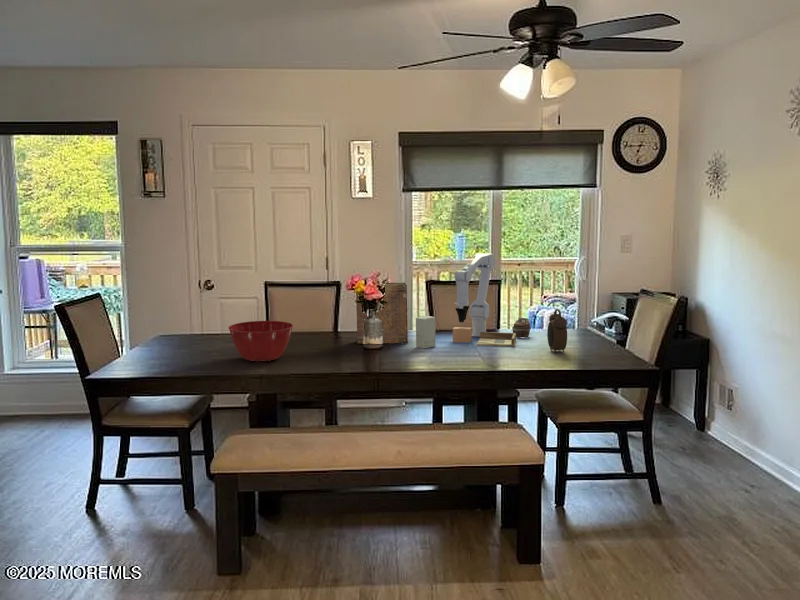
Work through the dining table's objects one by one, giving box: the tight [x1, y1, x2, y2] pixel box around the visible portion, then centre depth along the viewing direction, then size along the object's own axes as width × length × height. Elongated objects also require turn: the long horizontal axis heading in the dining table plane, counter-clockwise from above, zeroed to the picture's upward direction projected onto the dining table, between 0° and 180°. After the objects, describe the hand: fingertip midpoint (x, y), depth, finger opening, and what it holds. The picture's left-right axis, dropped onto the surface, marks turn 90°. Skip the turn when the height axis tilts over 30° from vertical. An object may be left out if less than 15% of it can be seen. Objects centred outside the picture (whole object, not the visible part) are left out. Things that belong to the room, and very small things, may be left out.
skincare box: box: [415, 315, 437, 349], centre depth 313 cm, size 8×6×15 cm
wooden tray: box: [476, 331, 517, 348], centre depth 322 cm, size 16×18×4 cm
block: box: [452, 326, 473, 343], centre depth 327 cm, size 4×9×7 cm, turn 76°
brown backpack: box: [547, 308, 568, 354], centre depth 298 cm, size 14×7×20 cm, turn 1°
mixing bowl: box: [228, 320, 294, 362], centre depth 290 cm, size 28×28×16 cm
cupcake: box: [511, 317, 532, 338], centre depth 338 cm, size 10×10×10 cm
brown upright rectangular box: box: [355, 282, 409, 345], centre depth 325 cm, size 25×9×30 cm, turn 94°
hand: (462, 321), depth 326 cm, fingers open, 7 cm apart
